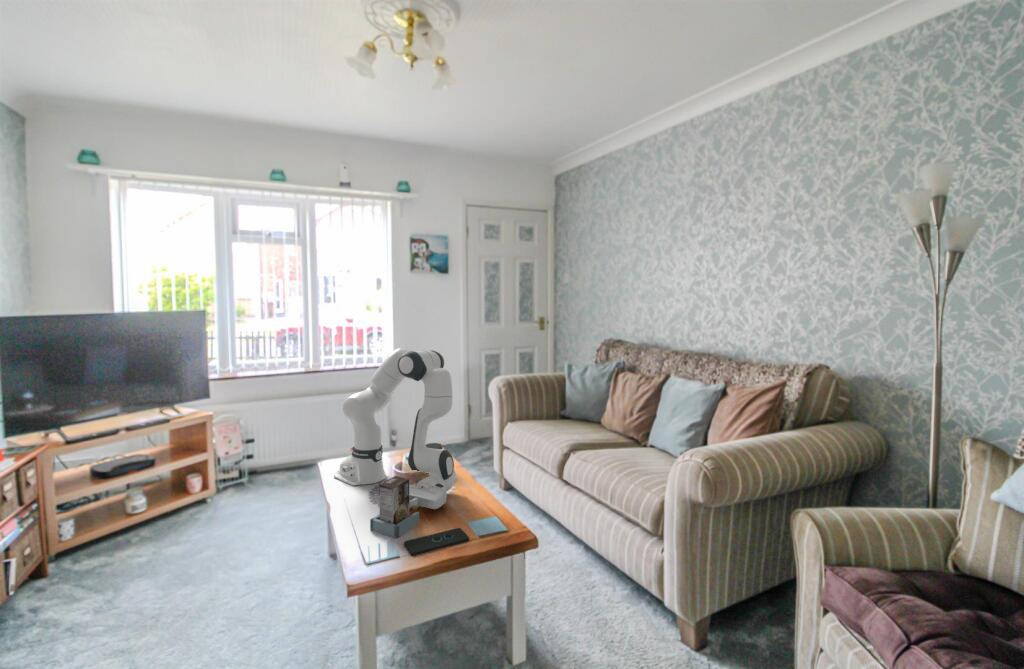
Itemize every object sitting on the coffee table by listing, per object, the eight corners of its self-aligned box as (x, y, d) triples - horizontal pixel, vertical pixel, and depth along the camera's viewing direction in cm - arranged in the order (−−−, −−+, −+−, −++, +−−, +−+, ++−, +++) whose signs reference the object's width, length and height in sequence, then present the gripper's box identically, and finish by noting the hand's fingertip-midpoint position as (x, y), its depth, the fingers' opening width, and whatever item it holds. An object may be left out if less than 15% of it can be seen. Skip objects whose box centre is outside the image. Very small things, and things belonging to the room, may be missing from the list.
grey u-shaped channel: (370, 530, 167) (370, 519, 166) (393, 515, 177) (393, 505, 177) (396, 538, 162) (396, 527, 161) (419, 523, 173) (419, 512, 172)
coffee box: (395, 518, 176) (395, 475, 174) (410, 522, 173) (410, 478, 171) (378, 529, 167) (378, 484, 166) (393, 533, 165) (393, 487, 163)
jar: (446, 472, 220) (446, 446, 219) (430, 476, 215) (430, 450, 214) (436, 466, 227) (436, 441, 226) (420, 470, 222) (420, 444, 221)
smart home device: (469, 537, 161) (411, 552, 151) (469, 542, 161) (411, 558, 151) (459, 526, 168) (403, 540, 158) (459, 531, 168) (403, 545, 158)
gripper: (405, 477, 190) (381, 490, 177) (449, 487, 181) (427, 502, 169) (405, 492, 191) (381, 506, 178) (449, 503, 182) (427, 519, 169)
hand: (404, 504), depth 173 cm, fingers closed, pressing on coffee box
